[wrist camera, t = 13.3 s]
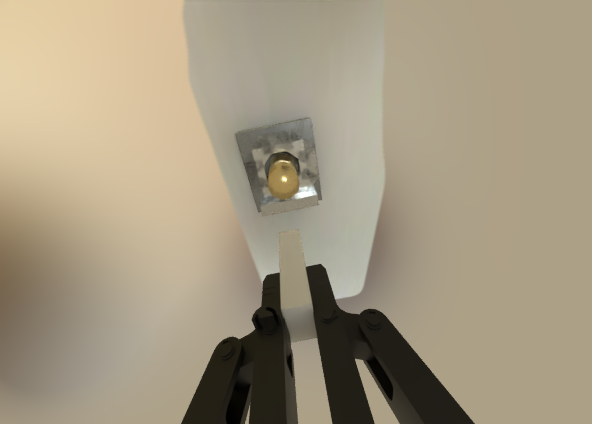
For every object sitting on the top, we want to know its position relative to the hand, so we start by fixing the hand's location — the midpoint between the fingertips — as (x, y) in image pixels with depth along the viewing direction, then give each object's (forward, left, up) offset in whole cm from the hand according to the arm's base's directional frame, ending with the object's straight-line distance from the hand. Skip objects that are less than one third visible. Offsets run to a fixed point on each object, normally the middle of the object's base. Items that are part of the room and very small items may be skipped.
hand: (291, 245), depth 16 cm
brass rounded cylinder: (0, 0, -24) cm, 24 cm away
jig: (0, 0, -24) cm, 24 cm away
